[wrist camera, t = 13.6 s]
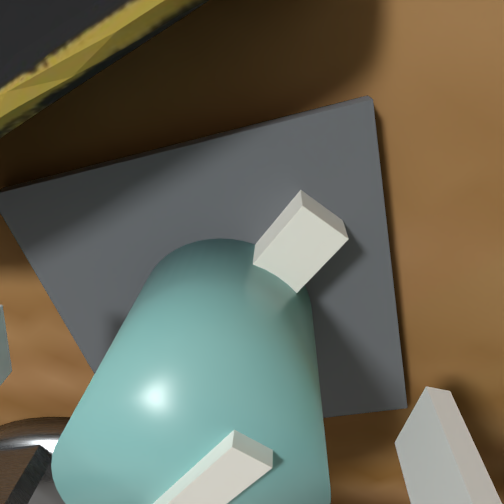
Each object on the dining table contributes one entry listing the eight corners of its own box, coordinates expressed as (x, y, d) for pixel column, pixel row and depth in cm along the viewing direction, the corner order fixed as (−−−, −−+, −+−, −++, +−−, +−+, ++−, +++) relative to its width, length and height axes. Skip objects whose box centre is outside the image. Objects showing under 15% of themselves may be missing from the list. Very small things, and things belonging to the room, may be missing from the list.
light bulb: (240, 145, 13) (194, 265, 6) (395, 258, 14) (491, 452, 8) (89, 359, 17) (-26, 554, 11) (217, 426, 19) (182, 633, 12)
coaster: (4, 187, 15) (-11, 195, 14) (367, 95, 12) (372, 99, 12) (138, 425, 20) (133, 439, 20) (402, 393, 18) (407, 407, 17)
